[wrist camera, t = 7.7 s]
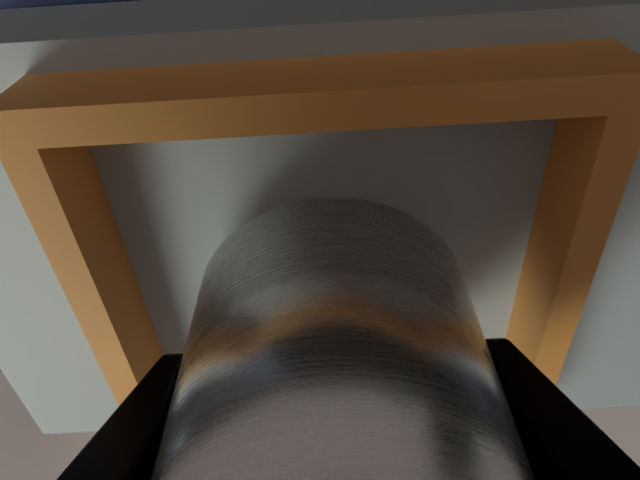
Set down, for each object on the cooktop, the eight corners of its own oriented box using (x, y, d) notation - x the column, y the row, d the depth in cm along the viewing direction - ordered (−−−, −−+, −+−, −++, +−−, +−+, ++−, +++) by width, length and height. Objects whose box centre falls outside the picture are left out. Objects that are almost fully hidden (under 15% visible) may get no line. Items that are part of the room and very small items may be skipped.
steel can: (479, 188, 9) (687, 607, 4) (450, 383, 12) (545, 748, 7) (173, 205, 9) (5, 633, 4) (224, 393, 12) (166, 758, 7)
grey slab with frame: (746, -39, 10) (960, 15, 7) (597, 337, 16) (670, 458, 13) (-106, 15, 10) (-297, 92, 7) (76, 362, 16) (19, 487, 13)
